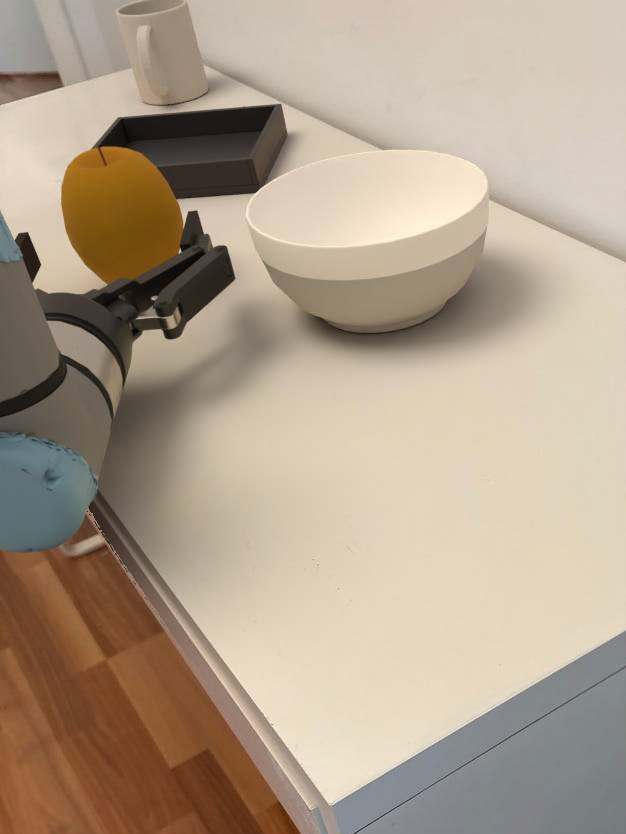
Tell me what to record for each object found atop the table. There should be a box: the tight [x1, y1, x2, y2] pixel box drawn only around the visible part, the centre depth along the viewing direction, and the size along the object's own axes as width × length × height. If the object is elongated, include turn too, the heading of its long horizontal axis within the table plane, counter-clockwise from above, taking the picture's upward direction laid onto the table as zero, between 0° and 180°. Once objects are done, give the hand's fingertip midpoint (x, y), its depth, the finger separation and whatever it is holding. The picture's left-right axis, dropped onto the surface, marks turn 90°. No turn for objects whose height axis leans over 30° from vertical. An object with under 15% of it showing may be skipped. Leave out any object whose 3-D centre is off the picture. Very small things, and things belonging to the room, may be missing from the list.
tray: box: [90, 103, 288, 200], centre depth 106 cm, size 19×17×3 cm
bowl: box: [245, 149, 490, 334], centre depth 78 cm, size 19×19×9 cm
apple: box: [60, 147, 184, 285], centre depth 83 cm, size 10×10×12 cm
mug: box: [115, 0, 210, 106], centre depth 124 cm, size 11×10×10 cm
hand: (114, 238), depth 79 cm, fingers open, 13 cm apart
